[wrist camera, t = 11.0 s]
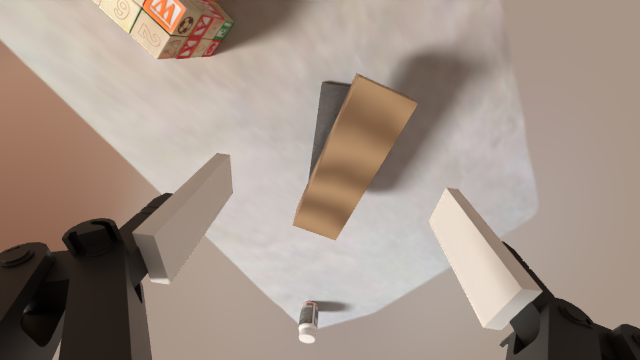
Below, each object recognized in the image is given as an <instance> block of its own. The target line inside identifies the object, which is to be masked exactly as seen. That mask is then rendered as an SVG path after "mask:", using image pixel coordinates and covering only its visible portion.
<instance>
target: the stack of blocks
mask: <svg viewBox="0 0 640 360" xmlns="http://www.w3.org/2000/svg"><path fill="white" fill-rule="evenodd" d="M93 1H94V2H95V3H96V4H98V5H99V7H100V8H101V9H102V10H103V11H104V12H105V13H106V14H107V15H108V16H110V17H111V18H112V19H113V20H114V21H115V22H116V23H117V24H119V25H120V26H121V27H122V28H123V29H124V30H125V31H126V32H128V33H130V35H131V37H132V38H134V39H135V40H136V41H137V42H138V43H139V44H140V45H141V46H142V47H144V48H145V49H146V50H147V51H148V52H149V53H150V54H151V55H152V56H154V57H155V58H156V59H168V58H175V59H184V58H185V59H186V58H192V57H210V56H212V54H213V53H214V51H215V50H216V49H217V47H218V46H219V44H220V43H221V41H222V39H223V38H224V36H225V35H226V34H227V32H228V31H229V29H230V28H231V26H232V25H233V24H234V22H233V20H232V19H231V18H230V17H229V16H228V15H227V14H226V13H225V12H224V11H223V10H222V8H221V7H220V6H219V5H218V4H217V2H216V1H215V0H93Z"/></svg>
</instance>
